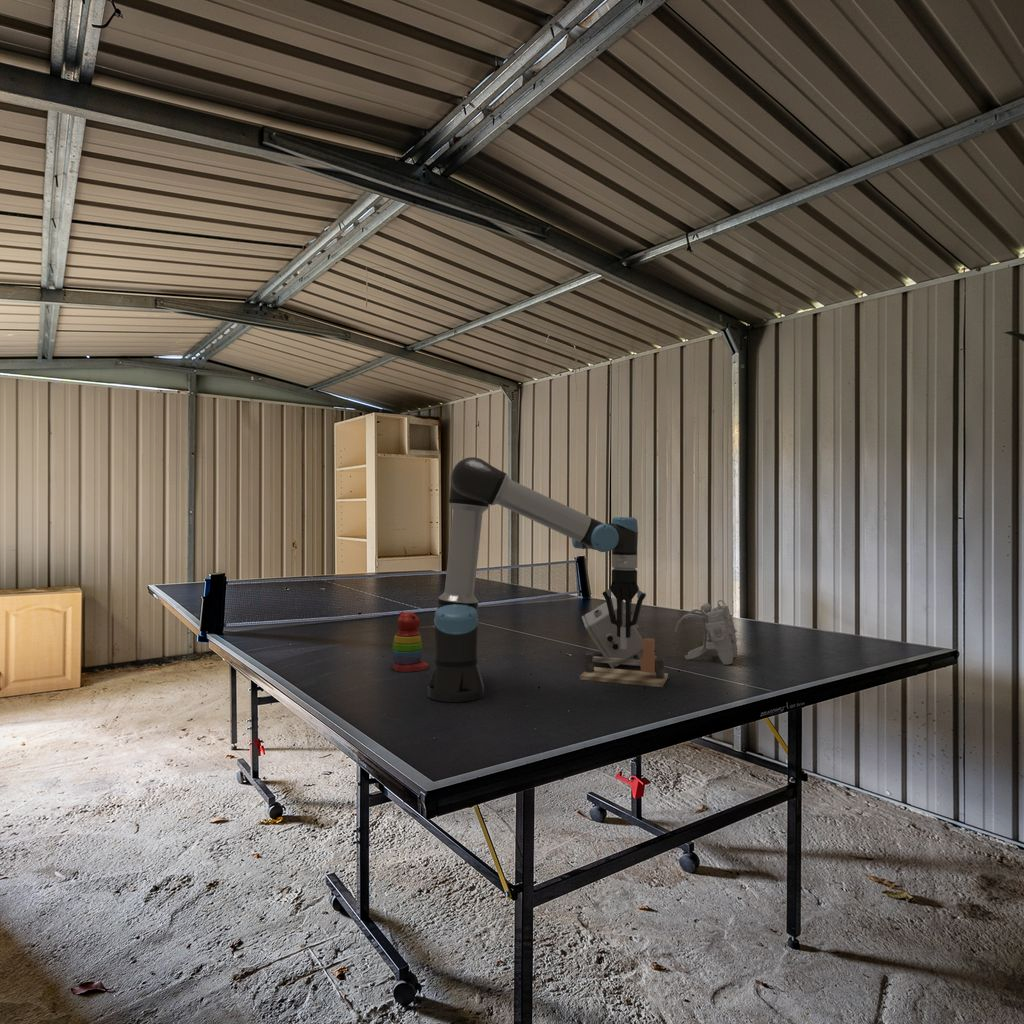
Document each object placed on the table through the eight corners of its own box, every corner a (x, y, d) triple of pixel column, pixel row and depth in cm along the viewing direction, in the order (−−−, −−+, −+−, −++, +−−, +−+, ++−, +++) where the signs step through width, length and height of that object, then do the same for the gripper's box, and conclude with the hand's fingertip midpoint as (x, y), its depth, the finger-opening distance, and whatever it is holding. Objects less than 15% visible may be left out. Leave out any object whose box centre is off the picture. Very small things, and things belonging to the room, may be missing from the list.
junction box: (661, 657, 204) (622, 597, 204) (621, 683, 204) (582, 624, 205) (649, 642, 228) (614, 589, 228) (613, 666, 228) (578, 612, 229)
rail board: (579, 679, 193) (579, 657, 193) (589, 670, 205) (589, 649, 205) (662, 687, 185) (662, 664, 185) (667, 677, 196) (667, 655, 196)
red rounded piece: (431, 668, 207) (432, 612, 207) (406, 674, 199) (406, 615, 199) (410, 663, 214) (410, 608, 214) (384, 668, 207) (385, 611, 207)
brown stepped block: (640, 671, 191) (640, 640, 191) (642, 668, 195) (643, 637, 195) (654, 672, 190) (654, 641, 190) (656, 669, 194) (656, 638, 194)
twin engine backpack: (692, 661, 232) (678, 605, 234) (746, 653, 224) (731, 596, 226) (681, 672, 216) (667, 612, 218) (739, 664, 208) (723, 602, 210)
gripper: (600, 568, 194) (599, 648, 193) (644, 570, 189) (643, 652, 189) (605, 567, 201) (604, 644, 201) (648, 568, 196) (647, 647, 196)
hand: (623, 648), depth 195 cm, fingers closed
